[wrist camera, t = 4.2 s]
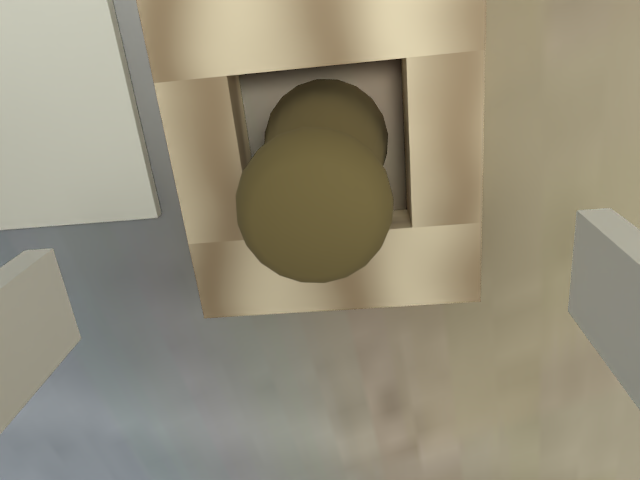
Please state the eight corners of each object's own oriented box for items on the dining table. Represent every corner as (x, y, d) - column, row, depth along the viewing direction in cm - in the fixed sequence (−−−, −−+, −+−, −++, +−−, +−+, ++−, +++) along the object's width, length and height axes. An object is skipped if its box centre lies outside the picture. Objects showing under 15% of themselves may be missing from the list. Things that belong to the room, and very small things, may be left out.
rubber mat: (-52, 230, 29) (-59, 234, 29) (-148, -11, 25) (-160, -12, 24) (161, 213, 28) (157, 217, 28) (102, -42, 24) (96, -43, 23)
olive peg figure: (374, 210, 28) (387, 326, 17) (258, 189, 27) (204, 295, 17) (400, 90, 25) (434, 145, 15) (273, 68, 25) (221, 107, 15)
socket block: (215, 294, 30) (204, 318, 28) (152, -22, 24) (130, -25, 21) (470, 278, 29) (480, 301, 26) (473, -60, 23) (487, -68, 20)
